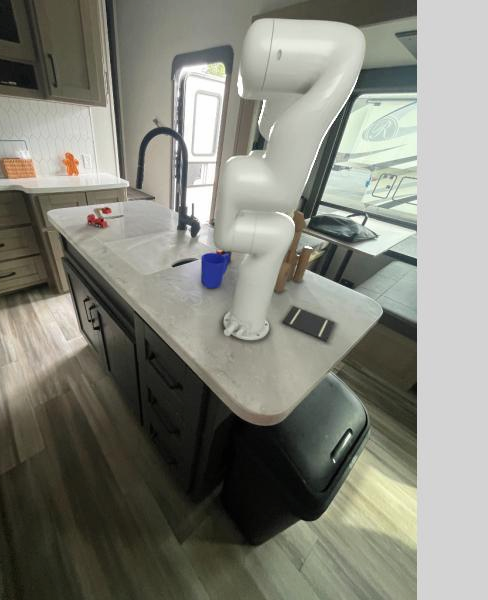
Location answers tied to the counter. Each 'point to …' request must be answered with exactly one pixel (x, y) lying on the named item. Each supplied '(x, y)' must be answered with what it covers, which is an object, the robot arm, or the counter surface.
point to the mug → (213, 269)
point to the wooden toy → (294, 257)
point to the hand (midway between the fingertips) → (244, 245)
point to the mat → (309, 323)
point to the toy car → (224, 253)
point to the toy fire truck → (100, 219)
